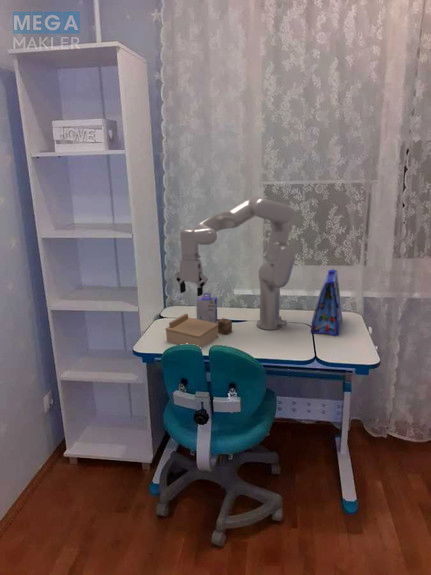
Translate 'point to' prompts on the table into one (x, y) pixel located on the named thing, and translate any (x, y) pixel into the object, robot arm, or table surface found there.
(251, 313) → the table surface
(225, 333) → the walnut block
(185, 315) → the lid
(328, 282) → the lunch bag
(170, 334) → the mailer box
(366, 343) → the table surface
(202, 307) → the ink cartridge box
